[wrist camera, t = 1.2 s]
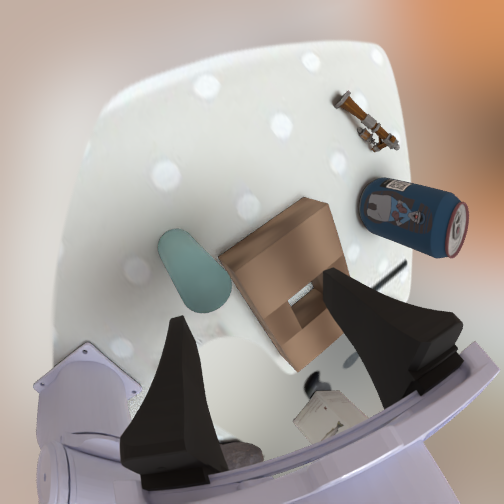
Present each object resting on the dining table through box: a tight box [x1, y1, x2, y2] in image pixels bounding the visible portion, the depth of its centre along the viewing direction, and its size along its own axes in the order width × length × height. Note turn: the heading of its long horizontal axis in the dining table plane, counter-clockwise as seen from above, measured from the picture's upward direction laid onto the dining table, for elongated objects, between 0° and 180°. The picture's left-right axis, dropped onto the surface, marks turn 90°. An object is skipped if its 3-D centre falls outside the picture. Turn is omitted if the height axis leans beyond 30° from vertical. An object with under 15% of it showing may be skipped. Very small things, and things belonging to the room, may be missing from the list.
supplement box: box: [293, 391, 368, 444], centre depth 36 cm, size 7×7×13 cm
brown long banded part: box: [334, 90, 400, 152], centre depth 26 cm, size 2×8×4 cm, turn 50°
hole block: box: [218, 197, 350, 372], centre depth 28 cm, size 10×16×4 cm, turn 27°
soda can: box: [359, 178, 469, 258], centre depth 27 cm, size 7×7×12 cm
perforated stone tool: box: [220, 442, 264, 470], centre depth 31 cm, size 15×5×7 cm, turn 73°
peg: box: [158, 229, 232, 313], centre depth 19 cm, size 3×3×8 cm
